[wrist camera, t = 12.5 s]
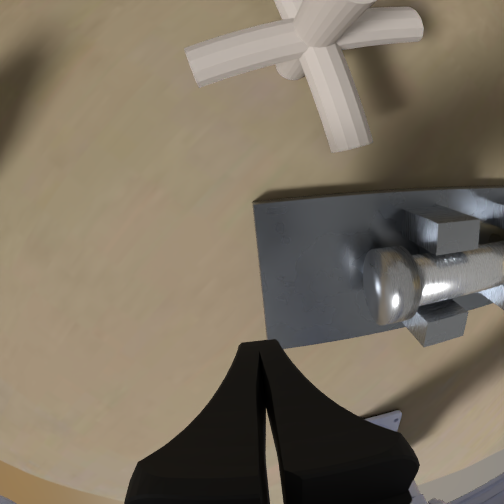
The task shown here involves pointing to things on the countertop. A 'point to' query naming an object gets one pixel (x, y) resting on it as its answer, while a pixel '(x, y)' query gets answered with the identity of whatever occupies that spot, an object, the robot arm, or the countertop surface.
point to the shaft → (426, 278)
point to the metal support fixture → (354, 252)
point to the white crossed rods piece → (312, 55)
